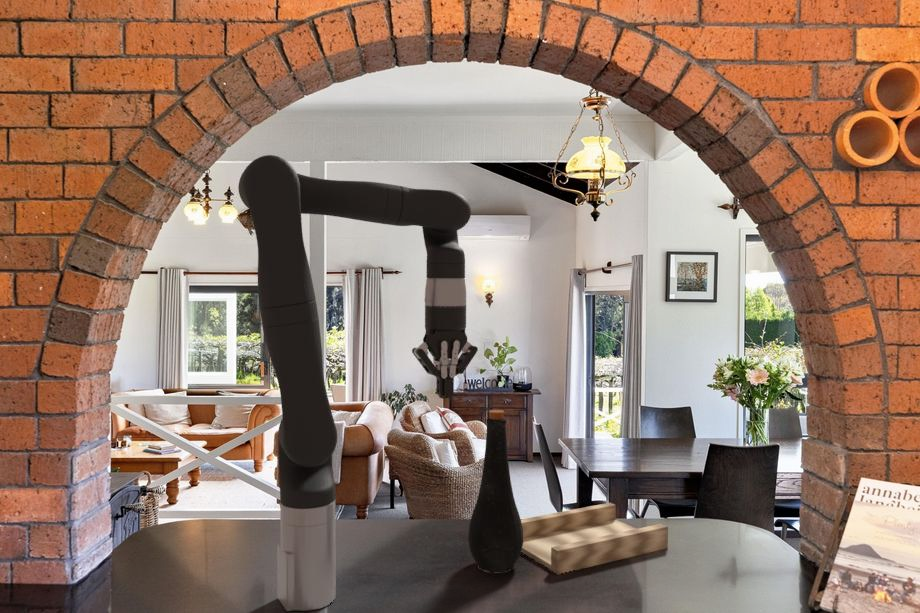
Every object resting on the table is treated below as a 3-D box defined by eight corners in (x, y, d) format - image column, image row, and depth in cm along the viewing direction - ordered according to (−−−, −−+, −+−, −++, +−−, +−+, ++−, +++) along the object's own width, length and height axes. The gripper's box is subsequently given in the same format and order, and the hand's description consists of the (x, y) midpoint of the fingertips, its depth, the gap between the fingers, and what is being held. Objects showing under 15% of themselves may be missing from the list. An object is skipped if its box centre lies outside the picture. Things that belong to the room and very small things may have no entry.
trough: (557, 574, 137) (557, 551, 137) (505, 543, 153) (505, 522, 152) (667, 548, 150) (668, 526, 150) (609, 522, 166) (609, 502, 166)
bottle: (511, 581, 134) (512, 418, 133) (459, 571, 138) (459, 413, 137) (530, 560, 143) (532, 408, 142) (481, 552, 148) (481, 404, 147)
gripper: (421, 304, 127) (421, 404, 128) (487, 303, 133) (486, 398, 134) (403, 303, 133) (403, 397, 134) (466, 302, 140) (466, 392, 141)
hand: (445, 397), depth 134 cm, fingers closed
